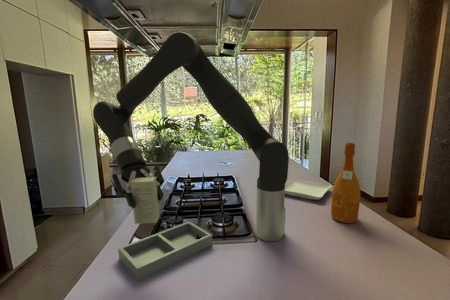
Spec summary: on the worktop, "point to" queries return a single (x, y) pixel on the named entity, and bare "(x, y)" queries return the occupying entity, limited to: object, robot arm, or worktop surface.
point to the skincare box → (145, 200)
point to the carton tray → (163, 249)
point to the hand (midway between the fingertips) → (148, 202)
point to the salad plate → (306, 189)
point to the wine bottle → (346, 190)
